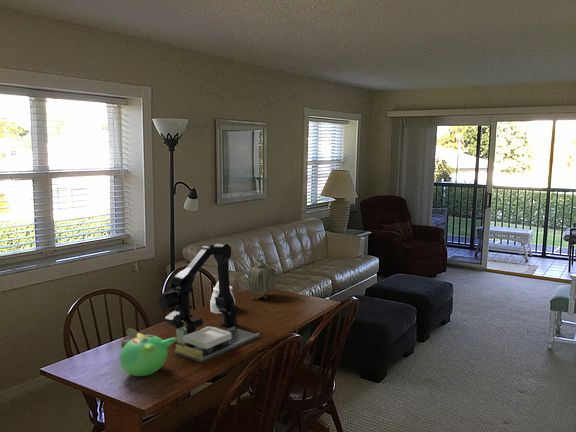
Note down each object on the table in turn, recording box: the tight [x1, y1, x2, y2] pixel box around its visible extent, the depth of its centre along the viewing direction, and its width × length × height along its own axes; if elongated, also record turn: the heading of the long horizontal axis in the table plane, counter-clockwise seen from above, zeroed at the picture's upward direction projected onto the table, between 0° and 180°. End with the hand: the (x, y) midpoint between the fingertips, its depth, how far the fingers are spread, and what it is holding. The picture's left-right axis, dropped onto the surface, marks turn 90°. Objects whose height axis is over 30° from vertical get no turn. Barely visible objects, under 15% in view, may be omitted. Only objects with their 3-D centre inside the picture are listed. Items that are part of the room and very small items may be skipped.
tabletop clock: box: [247, 253, 276, 300], centre depth 276 cm, size 14×9×25 cm, turn 145°
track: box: [174, 326, 261, 364], centre depth 210 cm, size 16×34×4 cm, turn 141°
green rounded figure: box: [119, 332, 177, 377], centre depth 183 cm, size 18×17×15 cm
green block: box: [175, 325, 187, 346], centre depth 214 cm, size 5×5×6 cm
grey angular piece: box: [120, 328, 139, 349], centre depth 207 cm, size 9×6×10 cm
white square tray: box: [183, 325, 232, 354], centre depth 205 cm, size 14×15×5 cm
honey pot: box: [209, 280, 236, 315], centre depth 257 cm, size 13×13×18 cm
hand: (184, 338), depth 214 cm, fingers open, 6 cm apart
